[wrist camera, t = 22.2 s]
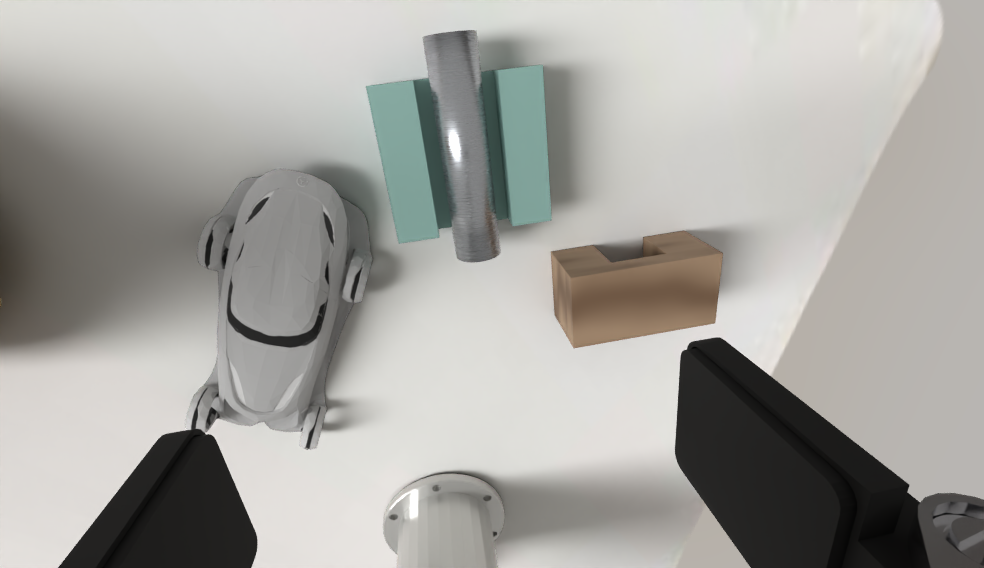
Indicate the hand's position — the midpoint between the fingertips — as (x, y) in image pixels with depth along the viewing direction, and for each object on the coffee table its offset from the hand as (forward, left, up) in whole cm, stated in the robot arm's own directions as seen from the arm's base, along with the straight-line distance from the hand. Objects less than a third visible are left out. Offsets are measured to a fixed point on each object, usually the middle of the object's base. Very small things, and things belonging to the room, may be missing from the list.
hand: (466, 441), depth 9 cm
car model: (-9, +13, -28) cm, 32 cm away
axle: (+2, -3, -25) cm, 25 cm away
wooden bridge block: (-10, -14, -27) cm, 33 cm away
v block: (+2, -2, -27) cm, 27 cm away
